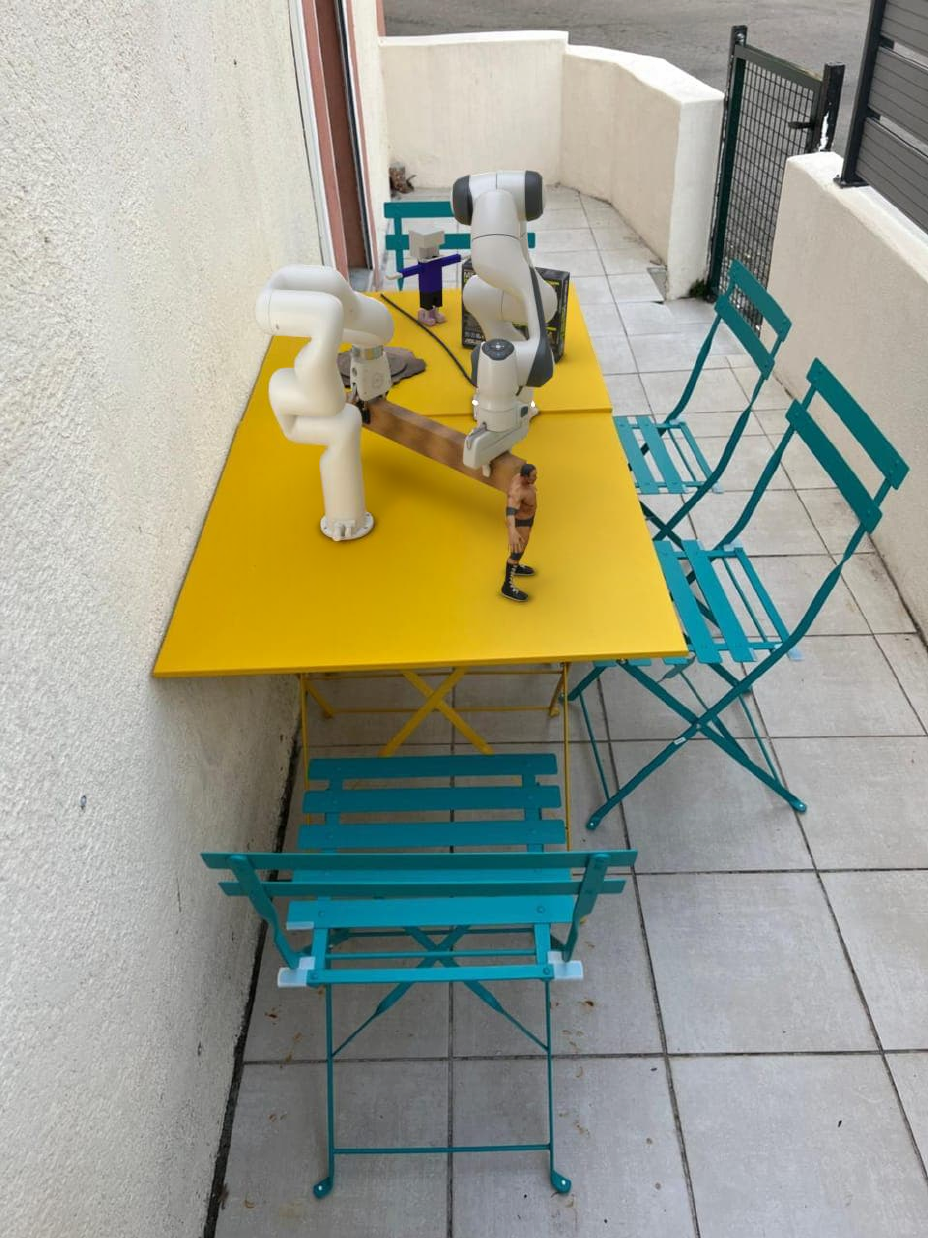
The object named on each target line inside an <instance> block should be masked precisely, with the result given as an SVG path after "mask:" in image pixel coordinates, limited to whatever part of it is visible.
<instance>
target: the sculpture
mask: <svg viewBox="0 0 928 1238" xmlns="http://www.w3.org/2000/svg"><path fill="white" fill-rule="evenodd" d="M383 351H384V352H385V353H386V356H387V359H388V363H389V368H390V375H391V381H392V382H393V386H394V387H396V386H395V385H394V384H395V383H399V382H400V380H401V379H403V378H407V377H411V376H412V375H414V374H416V373H417V374H418V373H420V372H422V371H424V370H426V362H425V360H424V359H423V358H417V357H416V356H415V355H414V352H413V351H412V350H409V349H408V348H404V347H396V346H389V345H383ZM350 352H352V348H350V349H349V350H345V351H343V352H339V353H338V357H337V365H338V369H339V372H340V375H341V378H342V381H343V384H344V387H346V386H351V384H350V367H351V358H352V357H351V356H350Z"/></svg>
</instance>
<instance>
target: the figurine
mask: <svg viewBox="0 0 928 1238" xmlns="http://www.w3.org/2000/svg"><path fill="white" fill-rule="evenodd" d="M537 474H538V469H537V467H536V466H535V465H534V464H532V463H527V464H524V465H523V466H522V468H521V472H520V473H518V474H516V475H515V476H513V478H512V479H511V482H510V484H509V488H508V491H507V494H506V506H505V523H506V528H507V532H508V533H507V535H508V537H507V538H508V540H507V541H508V542H507V543H508V544H507V551H510V555H509V556H508V557H507V560H506V562H505V575H504V576H505V577H504V581H503V584H502V585H501V588H500V589H501V590H500V591H501V594H502V595H503V596H504V597H507V598H509V599H512V600H514V601H517V602H525V601H527V600H528V599H529V594H528V593H526V592H524V591H522V590H521V589H519V588H518V587H517V586H516V585H515V583H514V576H515V575H518V576H519V575H520V576H533V575H534V574H535V571H534V568H533V567H532V566H529V565H524V564H522V563H520V561H521V560H522V558H523V556H524V553H525V551H526V549H527V546H528V544H529V541H530V534H531V531H532V528H533V526H534V522H535V516H536V513H537V508H538V500H537V493H536V492H537V491H538V488H537V486H536V484H535V482H536V481H537V479H538V476H537Z"/></svg>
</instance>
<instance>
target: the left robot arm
mask: <svg viewBox="0 0 928 1238" xmlns="http://www.w3.org/2000/svg"><path fill="white" fill-rule="evenodd" d="M253 316H254V322H255V324H256V326H257V328H258V329H259V330H260V331H261V332H262V333H264V334H267V335H269V336H276V337H277V336H278V337H279V336H280V337H292V338H293V337H294V338H295V337H296V338H311V339H310V340H309V342H307V343H306V344H305V345H304V346H303V347H302V348H301V349H300V350H299V352H298V354H296V356H295V358H294V362H293V367H281V368H278V369H277V370H275V371H273V373H272V375H271V376H270V379H269V383H268V399H269V403H270V407H271V409H272V412H273V414H274V416H275V418H276V421H277V423H278V424H279V427H280V429H281V431H282V433H283V435H284V436H285V438H286V439H287V440H288V441H290V442H291V443H295V444H302V445H303V444H304V445H317V446H326V449H325V450H324V451H323V453H321V456H320V459H319V472H320V481H321V489H322V495H323V504H324V512H325V514H324V516H322V518H321V520H320V522H319V523H320V530H321V532H322V533H323V534H324V535H325V536H326V537H329V538H331V539H332V540H333V541H335V542H340V541H348V540H354V539H359V538H361V537H364V536H365V535H367V534H369V532H371V531H372V529H373V527H374V517H373V515H372V514H371V513H370V512H369V511H367V507H366V497H365V485H364V476H363V464H362V463H363V462H362V447H361V446H362V443H361V442H362V430H363V427H362V422H364V423H366V424H370V413H369V409H367V406H368V400H370V399H373V398H375V397H377V396H378V397H381V398H383V399H385V400H388V398H387V396H388V395H389V393H390V390H391V388H392V387H393V386H394V382H392V381H391V375H390V368H389V363H388V359H387V356H386V353H385V352H384V351H383V346H388V344H390V343H391V342H392V340H393V338H394V335H395V322H394V320H393V319H394V318H393V316H392V314H391V312H390V310H389V309H388V307H387V306H386V305H385V304H384V303H383V302H381V301H379V300H378V299H376V298H374V297H372V296H367V294H366V295H365V294H364V293H361V292H359V291H355V290H354V289H353V288H352V287H351V285H350V284H349V283H348V281H347V280H346V279H345V277H344V276H343V275H342V273H341V272H340V271H339V270H337V269H336V268H334V267H331V266H326V265H314V264H294V263H292V264H291V263H290V264H285V265H282V266H280V267H279V268H278V269H277V270H275V272H274V273H273V274H272V275H270V277H269V278H268V280H267V281H266V283H265V284H264V285H263V286H262V288H261V289H260V290H259V292H258V294H257V296H256V298H255V302H254V306H253ZM342 344H347V345H348V344H349V345H351V349H352V352H350V356H351V357H352V358H351V367H350V384H351V385H350V391H351V394H350V396H349V399H348V402H349V403H351V404H349V403H346V393H347V392H346V388H345V387H346V386H344V384H343V380H342V378H341V375H340V372H339V369H338V365H337V357H338V353H340V349H341V345H342ZM356 398H357V400H356ZM362 400H363V404H362ZM352 404H353V405H352ZM354 405H355V406H356V407H355V406H354ZM357 407H358V408H359V409H358V408H357Z"/></svg>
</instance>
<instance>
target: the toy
mask: <svg viewBox="0 0 928 1238" xmlns="http://www.w3.org/2000/svg"><path fill="white" fill-rule="evenodd" d="M445 240H446V239H445V230H444V229H442V228H439V227H437V226H434V225H431V224H430V223H429V224H425V225H421V226H417V227H413V228H410V229H408V246H409V247H408V248H409V256H410V257H412V258H414V259H416V261H417V264H415V265H411V266H408V267H404V268H401V269H398V270H397V271H395V272H391V273H388V274H385V275H384V276H385V279H386V280H388V281H395V280H399V279H402V280H403V279H406V278H409V277H413V276H416V275H417V279H418V280H417V281H418V282H417V283H418V293H419V298H418V299H419V308H421V309H420V310H417V312H416V313H417V321H419V322H420V323H421V324H423V325H426V326H428V327H431V326H434V325H436V323H437V324H438V323H439V324H440V323H443V322H445V321H446V316H445V315H444V314H441V313H440V310H439V309H440V308H441V307H443V306H444V305H443V304H444V303H443V268H444V267H448V266H451V265H455V264H458V263H461V262H462V261H466V260H467V259H468V258H471V252H468V251H466V252H462V253H460V254H459V253H454V254H451V255H447V256H445V254H440V246H441V245H444V244H445Z"/></svg>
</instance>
